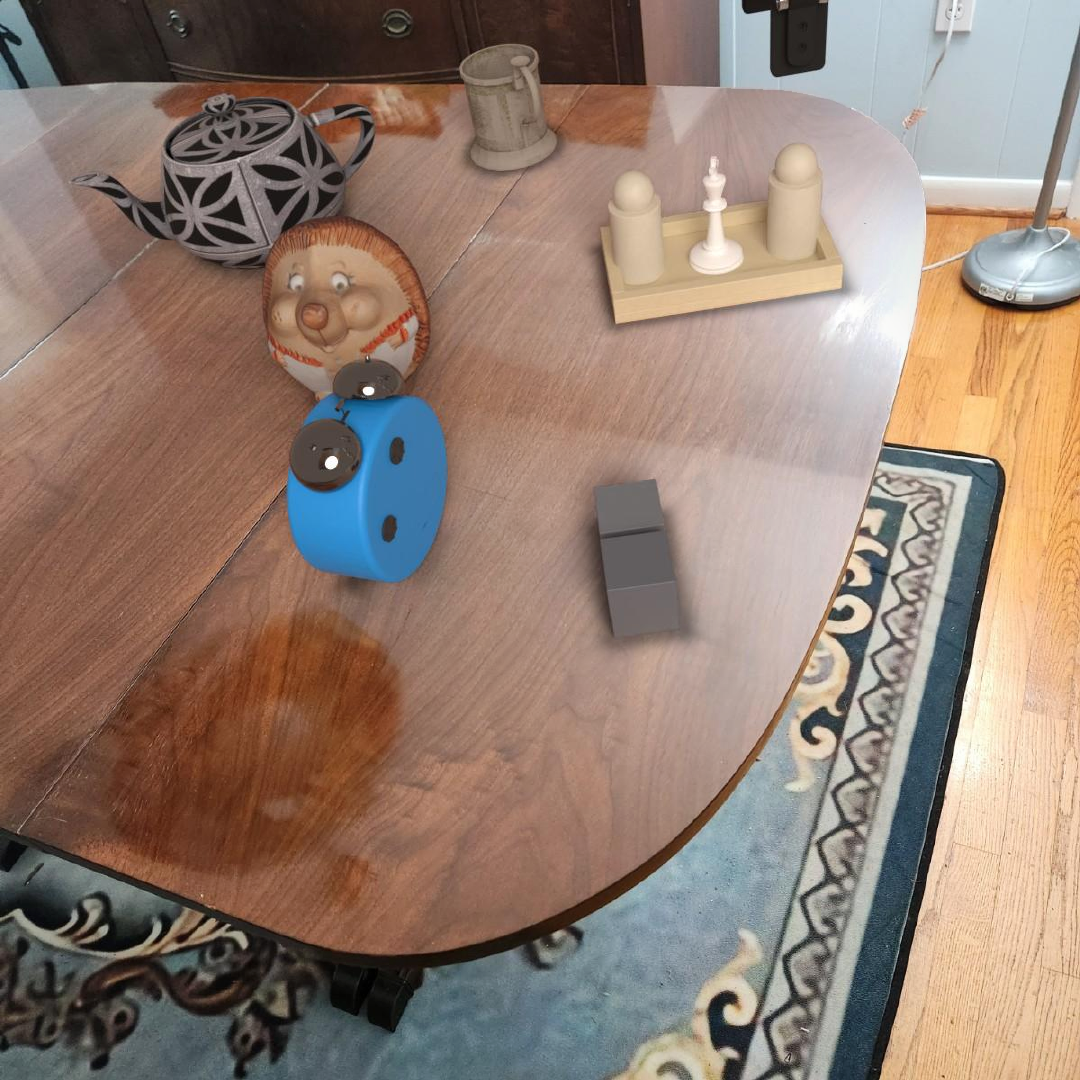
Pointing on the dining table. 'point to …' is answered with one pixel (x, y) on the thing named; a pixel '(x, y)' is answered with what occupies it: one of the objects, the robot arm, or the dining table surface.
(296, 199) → the teapot
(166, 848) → the dining table surface
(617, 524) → the slate blocks
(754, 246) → the pawn tray
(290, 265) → the figurine
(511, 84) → the mug
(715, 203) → the chess piece
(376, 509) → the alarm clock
